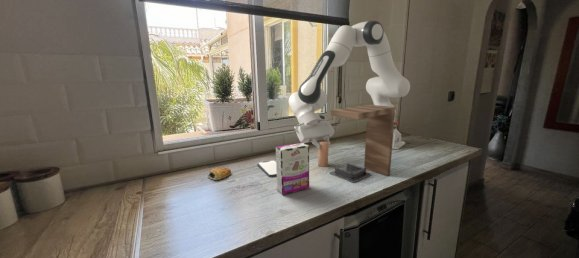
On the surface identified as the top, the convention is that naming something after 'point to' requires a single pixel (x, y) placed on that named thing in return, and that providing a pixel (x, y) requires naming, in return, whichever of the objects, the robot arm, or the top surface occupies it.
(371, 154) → the walnut shelf
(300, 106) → the robot arm
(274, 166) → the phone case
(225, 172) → the pastry
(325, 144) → the terracotta spice jar
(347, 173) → the tray
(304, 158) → the candy bar box
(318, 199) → the top surface
